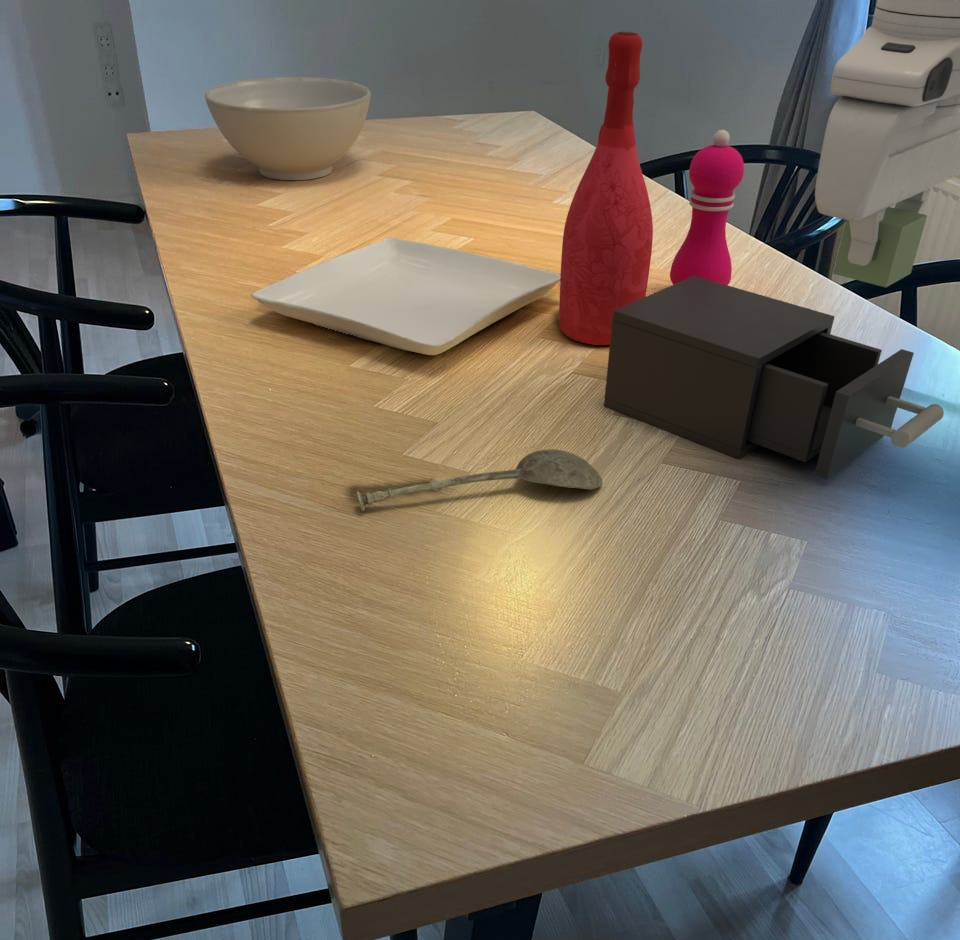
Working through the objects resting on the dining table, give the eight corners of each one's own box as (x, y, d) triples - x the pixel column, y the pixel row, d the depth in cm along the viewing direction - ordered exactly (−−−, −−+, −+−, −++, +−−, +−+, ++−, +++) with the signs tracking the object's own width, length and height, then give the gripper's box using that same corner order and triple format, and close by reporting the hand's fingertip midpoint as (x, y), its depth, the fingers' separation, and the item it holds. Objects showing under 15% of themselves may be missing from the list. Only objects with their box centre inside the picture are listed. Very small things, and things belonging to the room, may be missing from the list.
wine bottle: (619, 356, 109) (652, 43, 90) (541, 337, 112) (558, 33, 93) (655, 328, 115) (693, 30, 96) (580, 310, 119) (603, 21, 100)
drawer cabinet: (811, 411, 99) (835, 316, 92) (738, 459, 91) (759, 358, 84) (680, 365, 107) (694, 275, 101) (603, 406, 99) (612, 310, 93)
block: (910, 273, 80) (927, 215, 77) (885, 287, 78) (902, 227, 75) (858, 260, 83) (873, 203, 80) (832, 273, 80) (846, 215, 77)
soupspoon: (612, 503, 86) (586, 470, 91) (617, 468, 84) (590, 436, 89) (364, 528, 80) (351, 492, 85) (362, 491, 78) (349, 456, 84)
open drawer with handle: (941, 449, 91) (969, 368, 86) (880, 500, 83) (906, 415, 78) (755, 385, 101) (771, 310, 96) (687, 426, 94) (699, 346, 89)
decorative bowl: (376, 152, 179) (372, 76, 171) (373, 192, 158) (368, 108, 150) (228, 152, 177) (217, 76, 170) (205, 193, 157) (192, 109, 149)
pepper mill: (731, 305, 121) (762, 126, 108) (716, 325, 116) (748, 140, 103) (674, 296, 123) (699, 120, 111) (658, 315, 118) (681, 133, 106)
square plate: (565, 302, 121) (567, 270, 119) (437, 379, 103) (437, 343, 101) (391, 260, 133) (390, 230, 130) (249, 322, 115) (245, 289, 112)
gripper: (944, 37, 78) (896, 218, 87) (821, 68, 66) (779, 274, 75) (1025, 46, 75) (967, 234, 83) (910, 81, 63) (856, 295, 72)
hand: (877, 254), depth 79 cm, fingers closed on block, 4 cm apart
